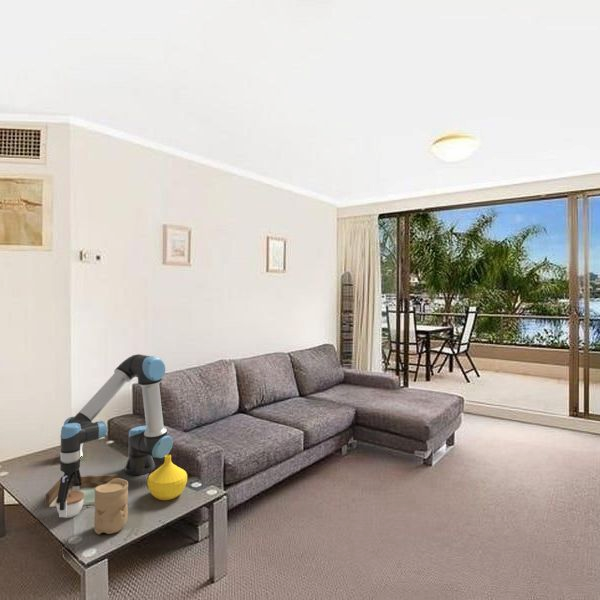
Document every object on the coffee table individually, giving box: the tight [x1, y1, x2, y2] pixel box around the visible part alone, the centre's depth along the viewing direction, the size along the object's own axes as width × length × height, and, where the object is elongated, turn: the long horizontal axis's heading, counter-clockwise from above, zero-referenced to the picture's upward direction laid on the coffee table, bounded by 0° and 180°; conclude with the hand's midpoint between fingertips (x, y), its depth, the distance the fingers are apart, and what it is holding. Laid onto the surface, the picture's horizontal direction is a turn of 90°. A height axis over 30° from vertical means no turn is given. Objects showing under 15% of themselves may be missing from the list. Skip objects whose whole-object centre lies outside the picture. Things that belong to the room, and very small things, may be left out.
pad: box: [80, 488, 95, 503], centre depth 198 cm, size 14×14×1 cm
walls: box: [45, 473, 119, 507], centre depth 199 cm, size 26×18×6 cm
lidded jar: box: [55, 491, 84, 519], centre depth 183 cm, size 11×11×9 cm
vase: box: [147, 454, 188, 501], centre depth 201 cm, size 18×18×19 cm
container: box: [93, 477, 129, 536], centre depth 173 cm, size 13×13×18 cm
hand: (69, 508), depth 183 cm, fingers open, 13 cm apart
